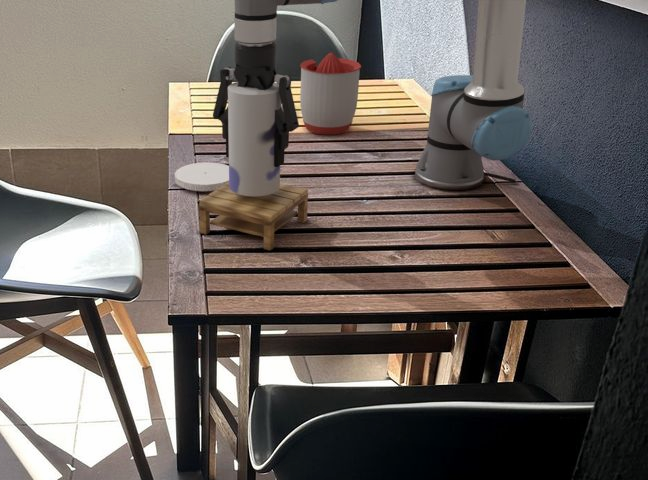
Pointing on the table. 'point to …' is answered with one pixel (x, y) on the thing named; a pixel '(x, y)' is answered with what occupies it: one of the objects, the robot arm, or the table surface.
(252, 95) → the container
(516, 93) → the robot arm
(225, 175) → the plastic lid
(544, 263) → the table surface
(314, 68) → the citrus juicer
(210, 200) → the rack
